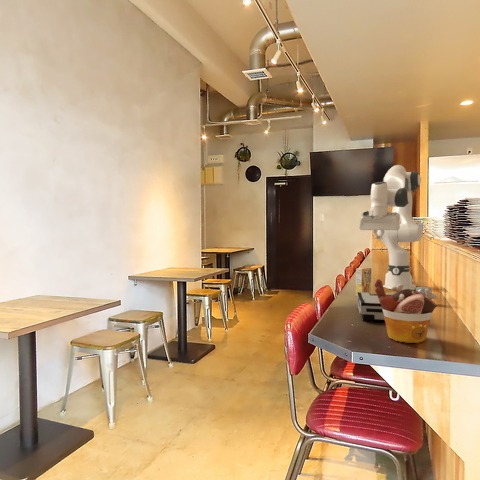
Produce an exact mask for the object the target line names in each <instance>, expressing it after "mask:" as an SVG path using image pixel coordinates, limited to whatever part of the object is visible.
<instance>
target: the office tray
mask: <svg viewBox="0 0 480 480" xmlns="http://www.w3.org/2000/svg"><path fill="white" fill-rule="evenodd" d="M392 295H393V294H392ZM388 296H391V295H388ZM356 300H357V308H358V313H359V315H361V319H363V320H362V322H369V321H377V322H376V323H379V321H380V320H381V321H382V320H383V321H385V318H384V313H383V309H382V306H381V304H380V303H379V299H378V296H377V294H376V293H375V294H373V293H371V294H369V293H364V292H357V297H356Z"/></svg>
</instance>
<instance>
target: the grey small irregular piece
mask: <svg viewBox="0 0 480 480" xmlns="http://www.w3.org/2000/svg"><path fill="white" fill-rule="evenodd" d="M426 288H427V289H429V290H431V294H432V293H433V288H432V287H427V286H416V289H415V292H416V291H418V292H421V293H423V294H424V295H426V293H425V289H426ZM431 300H432V301H433V299H431Z"/></svg>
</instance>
